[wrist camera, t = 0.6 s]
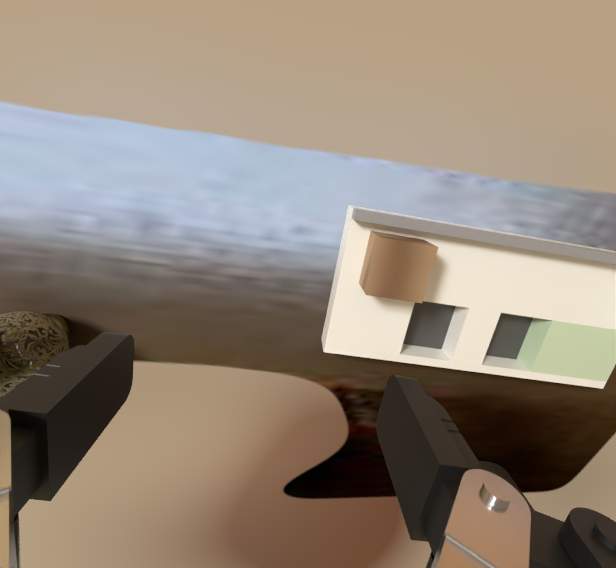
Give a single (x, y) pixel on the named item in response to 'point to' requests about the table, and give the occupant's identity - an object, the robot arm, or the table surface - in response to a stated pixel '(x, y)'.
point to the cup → (29, 345)
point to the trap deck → (481, 303)
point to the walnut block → (397, 267)
